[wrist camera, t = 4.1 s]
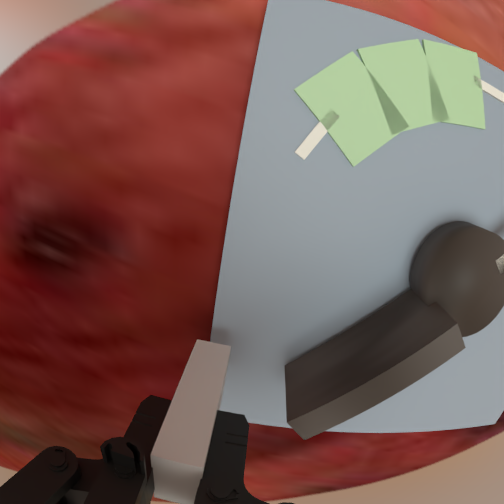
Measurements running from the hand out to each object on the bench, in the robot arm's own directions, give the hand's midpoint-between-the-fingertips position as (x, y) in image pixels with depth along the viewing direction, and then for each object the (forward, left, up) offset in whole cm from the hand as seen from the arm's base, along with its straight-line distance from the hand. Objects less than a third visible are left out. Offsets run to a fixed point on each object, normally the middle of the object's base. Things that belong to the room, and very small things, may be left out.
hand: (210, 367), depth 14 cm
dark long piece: (+11, +6, -2) cm, 12 cm away
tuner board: (+11, +6, -3) cm, 13 cm away
